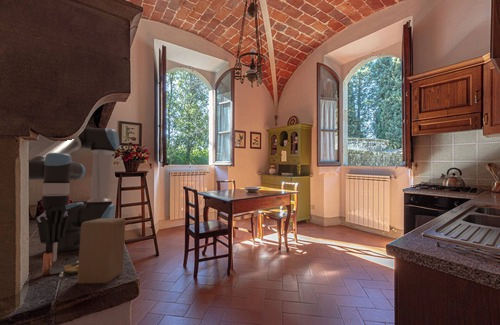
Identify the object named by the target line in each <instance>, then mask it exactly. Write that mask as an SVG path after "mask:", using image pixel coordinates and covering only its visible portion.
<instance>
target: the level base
mask: <svg viewBox="0 0 500 325" xmlns="http://www.w3.org/2000/svg"><path fill="white" fill-rule="evenodd" d="M73 276H78V273H72V274H65V273H64V271H60V273H59V274H58V276H57V277H56V279H59V278H66V277H73Z"/></svg>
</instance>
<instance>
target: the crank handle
mask: <svg viewBox="0 0 500 325" xmlns="http://www.w3.org/2000/svg"><path fill="white" fill-rule="evenodd" d="M52 254H53V252H51V253H46V252H45V253H43V255H42V257H43V258H42V267H41V268H42V269H41V276H47V275H50V274H52V273H58V272H62V271H64V273H65V274H72V273H78V262H79V259H78V260H73V261H72V262H71V263H67V264H64V266H56V267H52V265H53V262H52Z"/></svg>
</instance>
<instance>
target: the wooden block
mask: <svg viewBox="0 0 500 325" xmlns="http://www.w3.org/2000/svg"><path fill="white" fill-rule="evenodd" d="M125 236H126V219H125V218H123V217H116V218H115V217H114V218H100V219H95V220H90V221H85V222H83V223H82V224H81V235H80V248H79V249H78V260H79V262H78V275H76V277H77V280H76V283H77V284H105V283H109V282H111V281H113V280H114V279H115V278H116V277H118V276H120V275H121V274H122V273H123V272H124V255H125V254H124V253H125Z"/></svg>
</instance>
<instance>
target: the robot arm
mask: <svg viewBox="0 0 500 325" xmlns="http://www.w3.org/2000/svg"><path fill="white" fill-rule="evenodd" d="M85 127H86V126H85ZM79 149H90V152H91V153H92V154H93V158H92V159H93V160H92V170H91V171H92V172H91V186H90V198H89V199H88V200H87V201H86V204H85V202H83V201H80V202H73V203H69V200H70V196H69V195H68V194H70V187H71V186H70V185H71V184H70V181H76V180H80V179H82V178H84V176H85V174H86V172H87V170H86V167H85V166H84V165H83V164H82V163H80V162H78V161H72V155H71V154H72V152H76V151H78V150H79ZM119 149H120V136H119V134H118V132H117V130H115V129H113V128H107V127H105V128H104V127H103V128H101V127H89V126H88V127H86V128H85V129H84V131H83V132H82V133H81V134H80V135H79V136H78V137H77V138H75V139H72V140H67V141H59V140H57V141H55V143H53V144H51V145H50V146H48V147H47V148H45V149H44V150H42V151H41V152H39V153H38V154H37V155H35V156H33V157H32V158H31V159H29V160H28V161H29V180H43V183H42V184H43V186H42V195H43V196H41V207H42V208H43V209H42V211H41V214H40V215H39V216H35V217H34V220H35V222H36V223H37V230H38V236H39V242H40V244H45V253H51V252H53V254H52V263H55V262H56V261H57V257H58V255H57V254H58V253H63V252H70V251H75V250H79V248H80V235H81V224H82V223H83V222H85V221H90V220H95V219H100V218H115V214H116V210H117V209H116V205H115V204H114V203H113V201H112V199H111V198H110V192H111V190H110V188H111V174H112V171H111V170H112V158H113V157H112V156H113V155H114V154H116V150H117V151H118V150H119ZM29 180H28V181H29Z"/></svg>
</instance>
